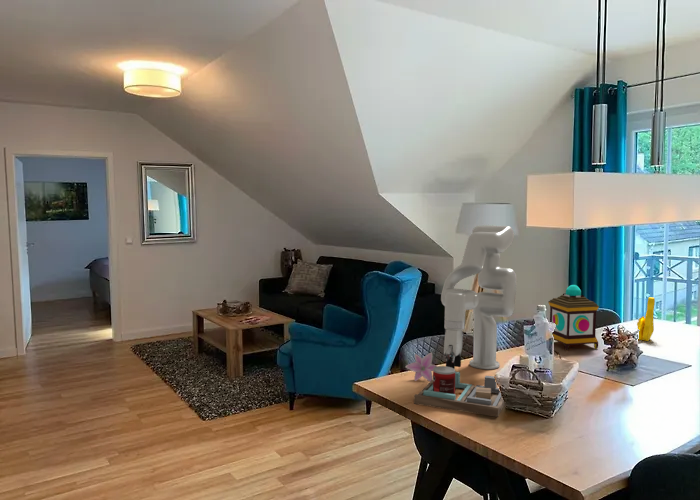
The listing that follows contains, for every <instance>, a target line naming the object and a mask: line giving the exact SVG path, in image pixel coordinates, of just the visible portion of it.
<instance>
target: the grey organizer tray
mask: <svg viewBox="0 0 700 500" xmlns="http://www.w3.org/2000/svg"><path fill="white" fill-rule="evenodd" d="M494 377H495V376H492V375H485V376H484V384H483V385H479V384H476V385H475V388H474V390H473V391H472V393H471V394H470V395H469V396H468V397H467V400H466V401H465V402H472V403H479V404H486V405H492V406H497V405H498V403H499V401H500V399H501V397H502V396H501V393H500V391H499V388H500V387H497V386H498V385H497V384H496V382H495V378H494ZM476 387H480V388H491V394H498V395H497V397H496V398H495V400H494V401H492V399H491V400H490V399H484V398H477V397H476Z"/></svg>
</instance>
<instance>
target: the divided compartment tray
mask: <svg viewBox="0 0 700 500" xmlns="http://www.w3.org/2000/svg"><path fill="white" fill-rule="evenodd" d="M432 385H433V380H431V381H430V382H429V381H428V383H427V384H426V386H424V387H423V388H422V389H421V390H420V391H419V392H418V393H415V394H414V395H413V404H414V405H421V406H425V407H432V408H439V409H444V410H452V411H458V412H465V413H471V414H476V415H477V414H478V415H483V416H490V417H496V418H497V417H498V418H499V415H500V414H501V413H502V412H501V411H502V409H503V408H504V405H505V404H504V400H503V398H502V397H501V399H500V401H499V403H498V405H497V406H492V405H493V404H492V405H486V404H479V403H472V402H465V401H466V400H467V397H468V396H469V395H470V394H471V393H472V391H473V390H474V388H475V387H476V385H473V384H472V386H471V387H470V389H469V390H468V391H467V393H466V394H465V395H464V397H463V398H462V400H461V401H459V400H457V399H456V400H452V399H445V398H439V397H432V396H425V395H423V394H424V390H428V389H429V388H430V387H431V386H432Z"/></svg>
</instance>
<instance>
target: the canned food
mask: <svg viewBox="0 0 700 500" xmlns="http://www.w3.org/2000/svg"><path fill="white" fill-rule="evenodd" d="M437 366H438V365H437ZM455 372H456V369H454V368H451V367H447V366H446V365H445V366H444V365H439V366H438V367H435V368H433V371H432V378H433V391H435V392H442V393H449V394H456V387H455Z"/></svg>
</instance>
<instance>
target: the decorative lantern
mask: <svg viewBox="0 0 700 500" xmlns="http://www.w3.org/2000/svg"><path fill="white" fill-rule="evenodd" d="M548 306H549V323H550V322H552V323H555V324H556V327H555V329H554V332H553V336H554V340H553V341H556V342H558V343H561V344H562V345H564V350H565V351H566V352H567V351H569V347H570V346H573V345H575V346H577V345H590V344H591V345H592V344H593V348H594V349H596V350H597V349H598V348H599V340H598V339H597V337H596V336H597V335H596V329H597V328H596V327H597V326H596V324H597V311H598V309H599V307H600V306H599V305H598V304H597V303H596V302H595V301H592V300H590V299H588V298H587V297H586V296H585V295H584V294H582V290H581V289H580V287H579V286H578V285H577V284H571V285H569V286H568V287H567V288H566V289H565V293H563V294H561V295H560V296H558V297H552V299H549V301H548Z"/></svg>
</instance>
